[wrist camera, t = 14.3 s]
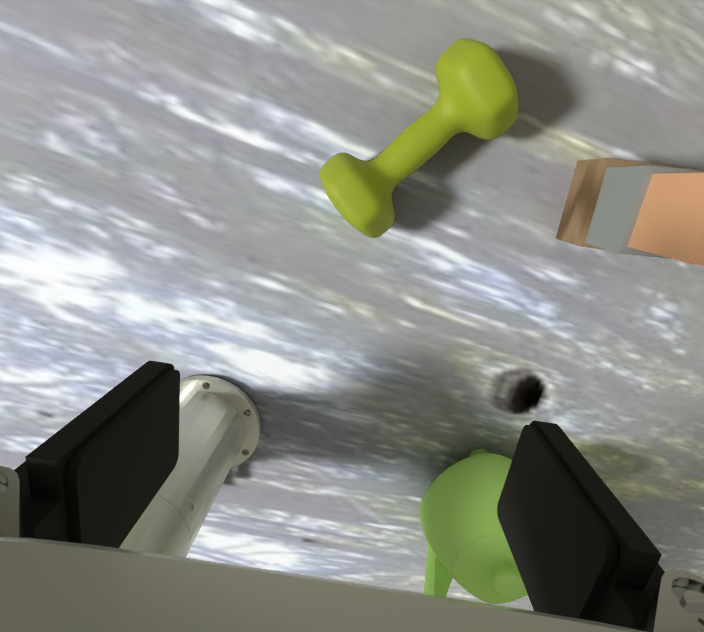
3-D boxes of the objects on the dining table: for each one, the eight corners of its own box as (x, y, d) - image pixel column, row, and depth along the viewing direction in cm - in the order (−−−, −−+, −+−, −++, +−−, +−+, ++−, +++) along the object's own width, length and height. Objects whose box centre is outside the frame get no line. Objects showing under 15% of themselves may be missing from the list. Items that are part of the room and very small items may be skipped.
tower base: (627, 247, 38) (663, 256, 33) (555, 238, 38) (580, 246, 33) (654, 170, 36) (696, 168, 31) (577, 161, 36) (607, 158, 31)
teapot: (450, 558, 52) (472, 670, 40) (378, 500, 50) (379, 600, 38) (578, 473, 47) (647, 574, 35) (504, 403, 44) (551, 485, 32)
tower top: (656, 250, 33) (703, 261, 28) (585, 243, 33) (619, 253, 29) (683, 174, 31) (738, 173, 26) (606, 167, 31) (647, 165, 27)
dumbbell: (460, 43, 34) (481, 8, 27) (512, 122, 35) (544, 108, 28) (316, 175, 38) (303, 173, 31) (369, 240, 39) (367, 252, 33)
